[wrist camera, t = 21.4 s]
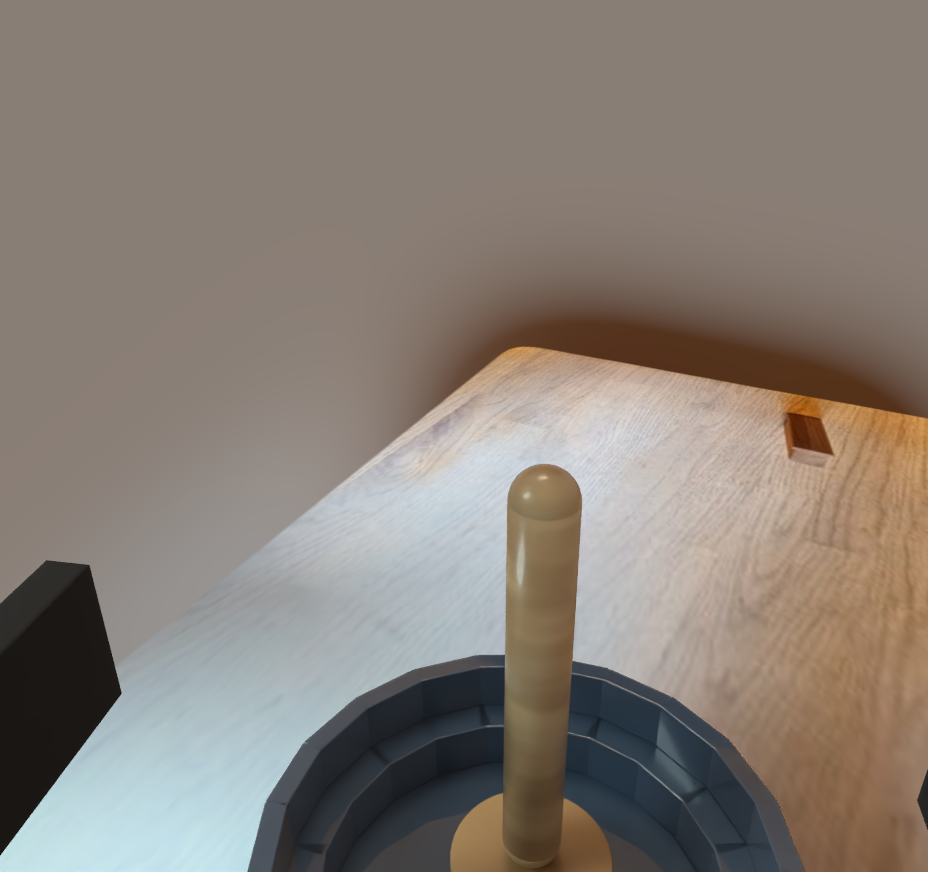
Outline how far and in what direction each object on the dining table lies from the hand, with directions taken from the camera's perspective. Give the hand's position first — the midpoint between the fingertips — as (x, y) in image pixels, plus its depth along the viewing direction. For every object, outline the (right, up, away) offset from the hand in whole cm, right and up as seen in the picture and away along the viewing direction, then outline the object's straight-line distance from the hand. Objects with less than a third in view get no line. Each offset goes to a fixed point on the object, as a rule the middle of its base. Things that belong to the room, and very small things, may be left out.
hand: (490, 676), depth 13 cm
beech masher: (+2, -13, +17) cm, 21 cm away
